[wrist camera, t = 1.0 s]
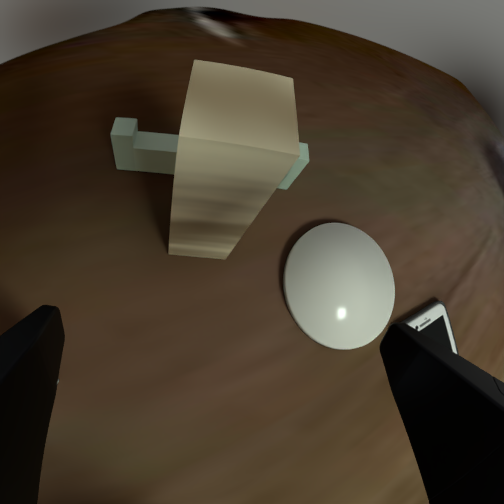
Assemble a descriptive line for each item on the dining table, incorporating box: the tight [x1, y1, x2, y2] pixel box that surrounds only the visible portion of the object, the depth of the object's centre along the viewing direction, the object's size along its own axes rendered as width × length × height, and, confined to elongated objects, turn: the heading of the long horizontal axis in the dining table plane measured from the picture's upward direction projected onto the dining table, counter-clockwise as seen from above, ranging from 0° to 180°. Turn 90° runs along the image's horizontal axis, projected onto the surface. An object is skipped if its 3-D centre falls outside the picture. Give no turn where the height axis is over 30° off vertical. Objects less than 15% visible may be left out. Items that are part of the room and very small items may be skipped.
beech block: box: [168, 60, 300, 259], centre depth 16 cm, size 4×4×13 cm
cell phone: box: [402, 301, 459, 355], centre depth 24 cm, size 8×15×1 cm, turn 19°
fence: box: [110, 117, 309, 190], centre depth 22 cm, size 2×14×4 cm, turn 89°
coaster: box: [283, 223, 395, 349], centre depth 24 cm, size 10×10×1 cm
